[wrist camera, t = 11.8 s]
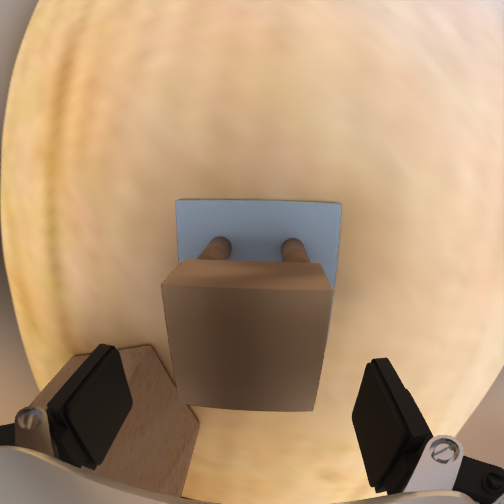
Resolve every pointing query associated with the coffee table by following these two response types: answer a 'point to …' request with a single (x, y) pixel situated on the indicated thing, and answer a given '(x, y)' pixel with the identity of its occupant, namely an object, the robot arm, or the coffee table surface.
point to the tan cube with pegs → (248, 329)
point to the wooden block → (143, 426)
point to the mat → (260, 229)
